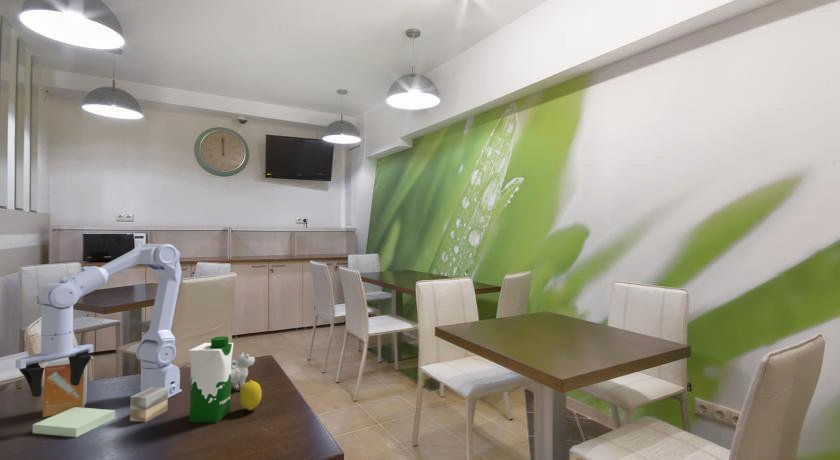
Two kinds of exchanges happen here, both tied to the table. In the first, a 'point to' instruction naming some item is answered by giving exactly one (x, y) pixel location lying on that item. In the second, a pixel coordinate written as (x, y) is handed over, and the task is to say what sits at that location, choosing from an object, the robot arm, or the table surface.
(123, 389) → the table surface
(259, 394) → the lemon
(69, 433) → the stand
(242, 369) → the dog figurine
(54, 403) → the small box
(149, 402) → the cream layered block
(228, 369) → the milk carton
